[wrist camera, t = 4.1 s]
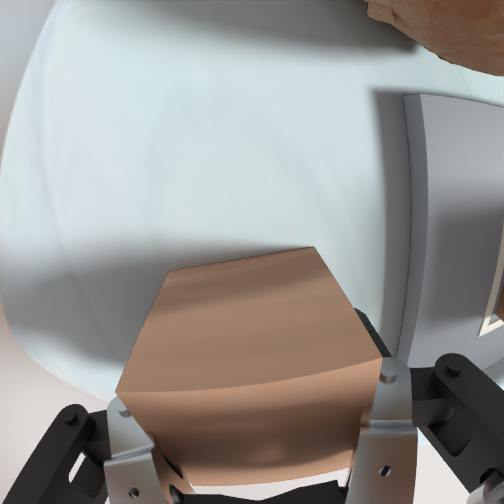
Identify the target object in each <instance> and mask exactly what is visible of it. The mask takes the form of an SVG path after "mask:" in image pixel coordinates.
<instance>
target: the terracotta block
mask: <svg viewBox="0 0 504 504" xmlns="http://www.w3.org/2000/svg"><path fill="white" fill-rule="evenodd" d="M382 358H383V357H382V355H381V354H380V352H379V350H378V348H377V347H376V345H375V343H374V341H373V340H372V338H371V336H370V335H369V333H368V331H367V330H366V328H365V326H364V325H363V323H362V321H361V320H360V318H359V316H358V315H357V313H356V311H355V310H354V308H353V306H352V305H351V303H350V302H349V300H348V298H347V297H346V295H345V294H344V292H343V290H342V289H341V287H340V286H339V284H338V282H337V281H336V279H335V278H334V276H333V275H332V273H331V272H330V270H329V268H328V267H327V265H326V264H325V262H324V261H323V259H322V258H321V256H320V255H319V253H318V252H317V250H316V249H315V247H310V248H304V249H298V250H292V251H286V252H280V253H274V254H268V255H262V256H256V257H250V258H244V259H238V260H232V261H226V262H220V263H214V264H208V265H202V266H196V267H190V268H184V269H178V270H172V271H169V272H168V274H167V276H166V278H165V280H164V282H163V284H162V287H161V289H160V291H159V293H158V295H157V297H156V299H155V301H154V303H153V305H152V307H151V310H150V312H149V314H148V316H147V318H146V320H145V323H144V325H143V327H142V329H141V331H140V334H139V336H138V338H137V340H136V343H135V345H134V347H133V349H132V352H131V354H130V356H129V359H128V361H127V364H126V366H125V368H124V371H123V373H122V376H121V378H120V380H119V383H118V385H117V388H116V390H115V392H116V394H117V395H118V397H119V398H120V400H121V401H122V403H123V404H124V405H125V407H126V408H127V410H128V411H129V412H130V414H131V415H132V416H133V418H134V419H135V420H136V422H137V423H138V424H139V426H140V427H141V428H142V429H143V431H151V432H152V433H153V434H154V436H155V437H156V438H157V439H158V441H159V444H160V448H161V451H162V453H163V454H164V456H165V457H166V458H167V459H168V460H169V461H170V462H171V463H172V464H179V465H180V466H181V467H182V468H183V470H184V472H185V474H186V477H187V479H188V481H189V482H190V483H191V484H192V485H193V486H231V485H248V484H260V483H270V482H278V481H285V480H292V479H298V478H304V477H309V476H314V475H319V474H324V473H328V472H332V471H337V470H341V469H344V468H349V466H350V461H351V457H352V451H353V447H354V443H356V441H357V436H358V431H359V424H360V418H361V412H362V407H363V406H365V405H369V404H372V403H374V398H375V394H376V389H377V384H378V380H379V374H380V369H381V364H382Z"/></svg>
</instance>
